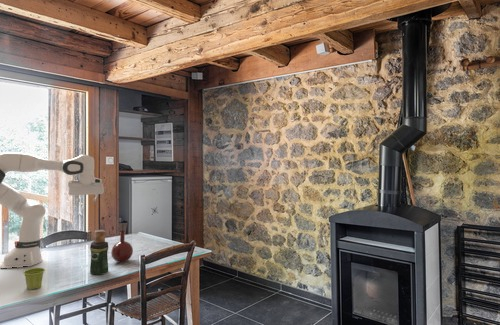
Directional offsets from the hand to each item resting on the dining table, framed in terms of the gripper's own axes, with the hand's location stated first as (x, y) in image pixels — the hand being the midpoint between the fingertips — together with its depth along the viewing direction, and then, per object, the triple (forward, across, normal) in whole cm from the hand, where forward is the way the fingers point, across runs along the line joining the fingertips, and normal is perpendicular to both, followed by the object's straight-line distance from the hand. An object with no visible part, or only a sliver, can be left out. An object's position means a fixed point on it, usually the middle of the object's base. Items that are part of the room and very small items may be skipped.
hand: (86, 201), depth 211 cm
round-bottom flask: (+39, +20, -10) cm, 45 cm away
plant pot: (+39, -28, -30) cm, 57 cm away
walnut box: (+21, +4, -24) cm, 32 cm away
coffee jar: (+39, +4, -24) cm, 46 cm away
